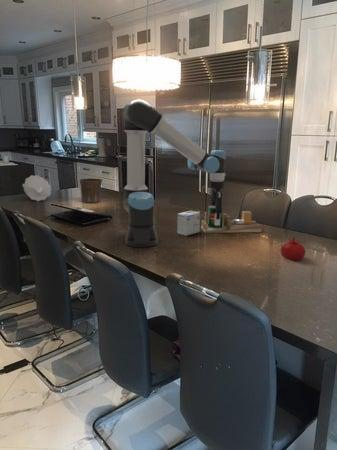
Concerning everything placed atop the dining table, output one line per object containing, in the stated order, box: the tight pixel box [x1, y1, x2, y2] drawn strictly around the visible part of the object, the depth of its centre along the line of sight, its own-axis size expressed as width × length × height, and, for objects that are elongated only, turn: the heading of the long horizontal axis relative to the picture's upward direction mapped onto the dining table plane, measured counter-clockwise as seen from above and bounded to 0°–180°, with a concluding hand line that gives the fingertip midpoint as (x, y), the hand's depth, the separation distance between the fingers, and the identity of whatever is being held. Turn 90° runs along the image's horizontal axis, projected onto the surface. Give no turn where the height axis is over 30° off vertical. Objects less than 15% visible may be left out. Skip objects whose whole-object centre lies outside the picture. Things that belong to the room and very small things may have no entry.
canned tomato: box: [207, 204, 224, 228], centre depth 197 cm, size 8×8×11 cm
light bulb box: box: [177, 210, 201, 236], centre depth 192 cm, size 11×7×11 cm, turn 135°
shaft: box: [232, 210, 253, 225], centre depth 199 cm, size 4×9×8 cm, turn 96°
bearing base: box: [201, 212, 262, 234], centre depth 199 cm, size 10×30×8 cm, turn 96°
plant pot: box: [78, 178, 103, 204], centre depth 268 cm, size 16×16×16 cm
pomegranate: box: [280, 236, 306, 262], centre depth 156 cm, size 10×10×9 cm
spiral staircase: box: [21, 174, 52, 202], centre depth 276 cm, size 18×18×25 cm
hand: (215, 222), depth 198 cm, fingers open, 9 cm apart
